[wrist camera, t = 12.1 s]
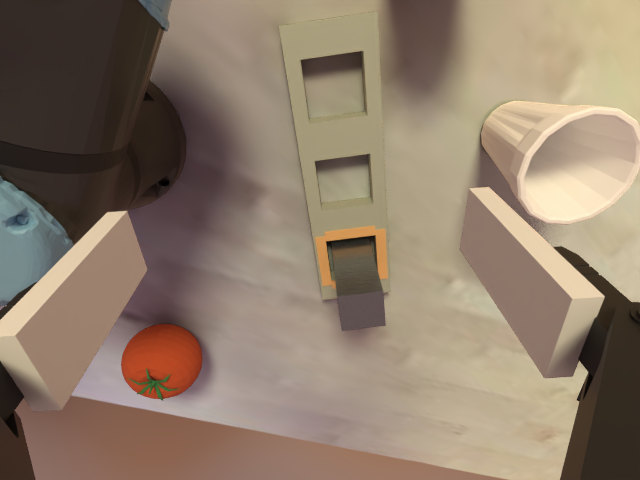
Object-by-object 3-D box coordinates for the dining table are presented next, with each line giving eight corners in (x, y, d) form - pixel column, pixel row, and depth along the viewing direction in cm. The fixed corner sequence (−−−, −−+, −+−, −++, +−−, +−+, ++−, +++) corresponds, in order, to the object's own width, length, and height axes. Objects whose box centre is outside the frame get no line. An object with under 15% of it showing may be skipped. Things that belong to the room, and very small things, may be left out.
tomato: (150, 363, 59) (123, 423, 50) (127, 312, 54) (92, 368, 45) (216, 357, 59) (200, 416, 50) (199, 305, 54) (178, 361, 45)
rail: (322, 290, 53) (322, 300, 51) (280, 25, 37) (278, 26, 35) (387, 282, 52) (390, 292, 51) (374, 11, 36) (377, 11, 34)
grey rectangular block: (334, 266, 51) (341, 330, 41) (330, 236, 49) (336, 296, 38) (369, 262, 51) (385, 325, 40) (367, 231, 48) (383, 290, 38)
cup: (543, 61, 39) (639, 80, 28) (563, 146, 43) (653, 192, 32) (449, 112, 41) (502, 148, 30) (478, 187, 46) (533, 244, 34)
